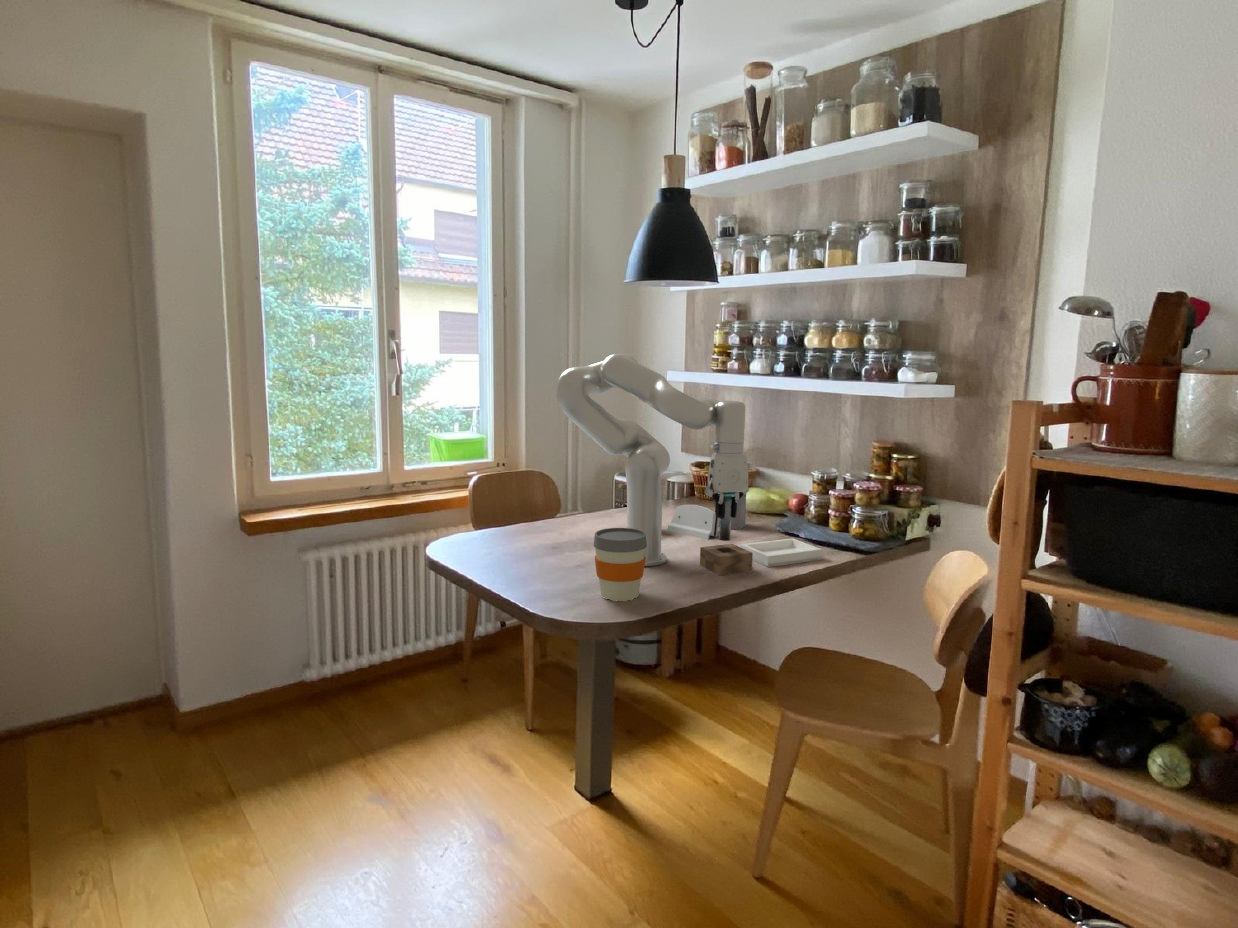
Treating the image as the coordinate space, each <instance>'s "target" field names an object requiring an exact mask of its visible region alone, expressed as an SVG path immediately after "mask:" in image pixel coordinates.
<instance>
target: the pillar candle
mask: <svg viewBox="0 0 1238 928" xmlns="http://www.w3.org/2000/svg"><path fill="white" fill-rule="evenodd" d="M746 514H747V493H745V494H744V495H743V496H742V497H741V498H740V499H739V502H738V503H737V513H736V517H735V518H733V517H731V530H741V529H743V528H745V527H746V516H747V515H746ZM719 526H720V518H719Z"/></svg>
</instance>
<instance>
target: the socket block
mask: <svg viewBox="0 0 1238 928" xmlns="http://www.w3.org/2000/svg"><path fill="white" fill-rule="evenodd" d="M699 549H700V550H699V566H700V567H702V568H704V569H707V570H708V571H710V572H711V573H714V574H716V575H718V576H726V575H733V574H741V573H742V574H743V573H747V572H753V560H752V555H753V553H752V552H750V551H747V550H745V549H743V548H741V546H738V545H737V544H736V545H735V544H734V543H725V544H717V545H709V546H708V545H707V546H700V548H699Z"/></svg>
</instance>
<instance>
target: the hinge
mask: <svg viewBox="0 0 1238 928" xmlns="http://www.w3.org/2000/svg"><path fill="white" fill-rule="evenodd" d="M670 521H671V522H670V523H669V524H668V526H667V532H671V533H677V534H680V535H681V534H682V535H686V536H690V537H694V538H699V539H703V540H709V539H710V537H711V536H712V537H716V538H717V537H719V518H718V517H716V514H715V511H714V510H712V509H710V508H708V507H705V506H702V505H697V504H682V505H678V506H676V508H675V510H674V513H673V516H672V519H671V520H670Z"/></svg>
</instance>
